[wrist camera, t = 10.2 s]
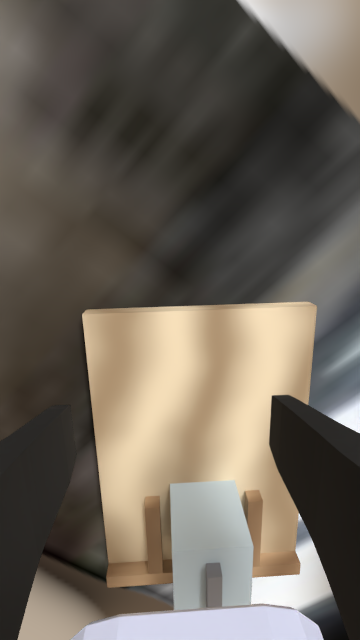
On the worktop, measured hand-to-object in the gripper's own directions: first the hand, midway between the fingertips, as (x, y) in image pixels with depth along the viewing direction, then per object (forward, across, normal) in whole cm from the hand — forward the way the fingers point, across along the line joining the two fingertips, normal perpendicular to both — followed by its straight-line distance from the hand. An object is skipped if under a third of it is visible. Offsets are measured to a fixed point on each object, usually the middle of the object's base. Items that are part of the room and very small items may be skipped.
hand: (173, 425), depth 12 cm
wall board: (+10, -2, +8) cm, 13 cm away
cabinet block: (+9, -2, +13) cm, 16 cm away
